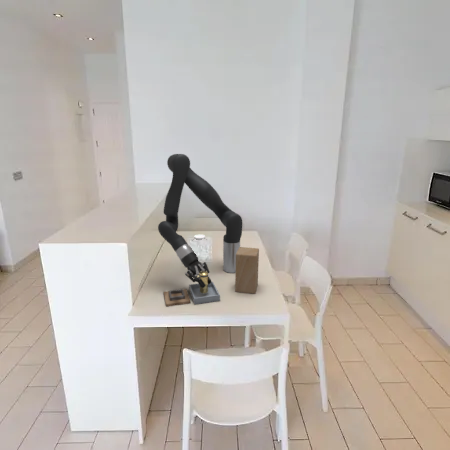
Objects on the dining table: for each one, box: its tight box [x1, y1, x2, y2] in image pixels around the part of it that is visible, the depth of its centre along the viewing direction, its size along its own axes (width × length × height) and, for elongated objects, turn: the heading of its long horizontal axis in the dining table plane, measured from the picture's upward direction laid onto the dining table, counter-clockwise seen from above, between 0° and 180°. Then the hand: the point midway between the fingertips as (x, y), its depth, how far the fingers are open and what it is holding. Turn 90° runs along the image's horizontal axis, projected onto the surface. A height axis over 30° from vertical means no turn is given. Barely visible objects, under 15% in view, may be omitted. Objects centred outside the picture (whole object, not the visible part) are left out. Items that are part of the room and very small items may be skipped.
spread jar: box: [193, 233, 206, 240], centre depth 211 cm, size 12×11×12 cm
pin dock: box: [163, 288, 192, 307], centre depth 157 cm, size 11×12×3 cm
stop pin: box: [199, 271, 209, 293], centre depth 158 cm, size 4×4×10 cm
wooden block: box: [234, 246, 260, 295], centre depth 164 cm, size 10×10×20 cm
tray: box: [188, 281, 221, 305], centre depth 160 cm, size 12×14×3 cm
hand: (207, 284), depth 157 cm, fingers closed on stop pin, 4 cm apart
